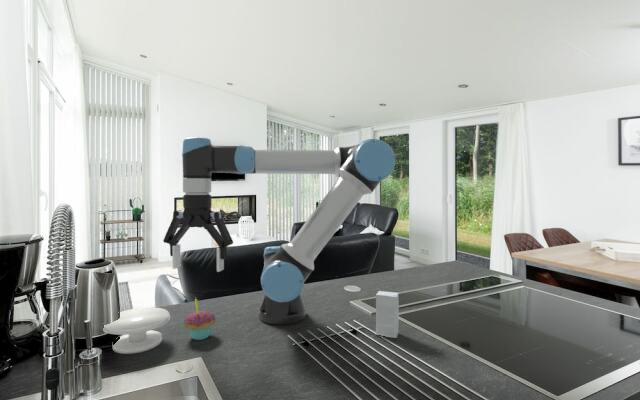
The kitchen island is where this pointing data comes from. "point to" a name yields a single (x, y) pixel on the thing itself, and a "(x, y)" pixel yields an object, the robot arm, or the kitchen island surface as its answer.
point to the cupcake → (199, 323)
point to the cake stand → (138, 329)
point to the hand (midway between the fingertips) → (198, 269)
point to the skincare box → (387, 314)
